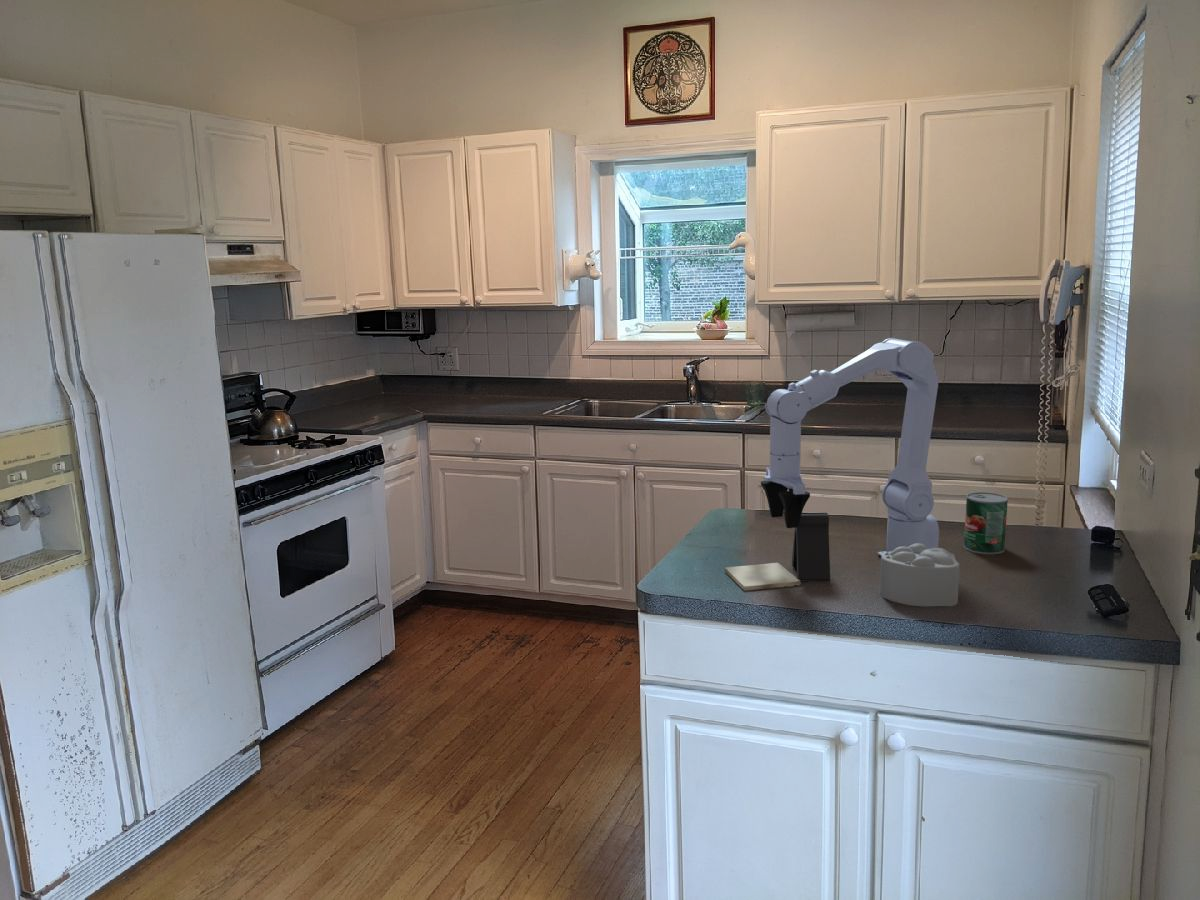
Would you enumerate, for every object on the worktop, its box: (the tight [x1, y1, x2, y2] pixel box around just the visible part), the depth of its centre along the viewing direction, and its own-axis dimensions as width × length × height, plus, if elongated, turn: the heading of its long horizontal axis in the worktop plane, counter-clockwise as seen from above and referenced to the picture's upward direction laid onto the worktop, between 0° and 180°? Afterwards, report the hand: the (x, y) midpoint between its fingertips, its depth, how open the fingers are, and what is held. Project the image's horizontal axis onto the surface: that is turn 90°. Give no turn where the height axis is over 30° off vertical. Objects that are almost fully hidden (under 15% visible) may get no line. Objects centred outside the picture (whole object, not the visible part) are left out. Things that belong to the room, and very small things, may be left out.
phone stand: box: [791, 512, 831, 582], centre depth 180 cm, size 9×6×12 cm, turn 176°
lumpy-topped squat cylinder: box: [879, 543, 961, 608], centre depth 167 cm, size 10×13×9 cm
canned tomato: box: [963, 491, 1009, 555], centre depth 192 cm, size 8×8×11 cm
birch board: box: [724, 562, 801, 592], centre depth 179 cm, size 11×11×1 cm
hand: (784, 521), depth 180 cm, fingers open, 7 cm apart
